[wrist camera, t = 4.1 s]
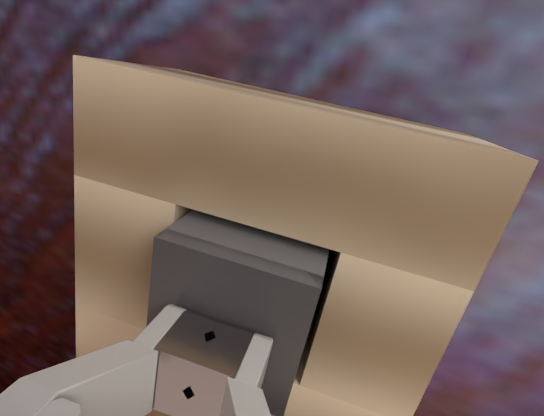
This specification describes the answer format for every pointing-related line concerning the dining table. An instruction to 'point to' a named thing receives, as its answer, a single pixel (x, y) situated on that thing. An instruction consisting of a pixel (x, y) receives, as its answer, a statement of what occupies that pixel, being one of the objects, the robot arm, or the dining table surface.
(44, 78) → the dining table surface
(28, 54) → the dining table surface
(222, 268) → the charcoal plug
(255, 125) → the maple housing
